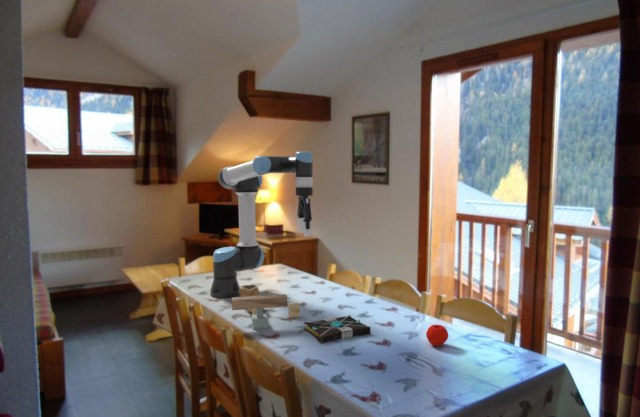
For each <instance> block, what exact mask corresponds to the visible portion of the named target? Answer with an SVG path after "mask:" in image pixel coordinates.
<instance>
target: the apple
mask: <svg viewBox="0 0 640 417" xmlns="http://www.w3.org/2000/svg"><path fill="white" fill-rule="evenodd" d="M425 336H426V339H427V341H428V342H429V344H431V345H432V346H434V347H440V346H442V345H444V343H445V342H447V341H448V339H449V332H448V330H447V328H446V327H445V326H443V325H442V324H432V325H430V326H429V327H428V328H427V330H426V332H425Z"/></svg>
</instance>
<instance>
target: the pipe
mask: <svg viewBox="0 0 640 417" xmlns="http://www.w3.org/2000/svg"><path fill="white" fill-rule="evenodd" d="M239 286H240V287H239V288H240V289H239V292H240V294H239V295H240V297H252V296H262V295H261V294H260V293H259V292H260V290H259V286H258V285H257V284H248V285H247V284H245V285H239ZM246 310H247V311H248V312H249V313H251V314H252V309H246ZM264 310H265V308H263V311H264Z"/></svg>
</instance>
